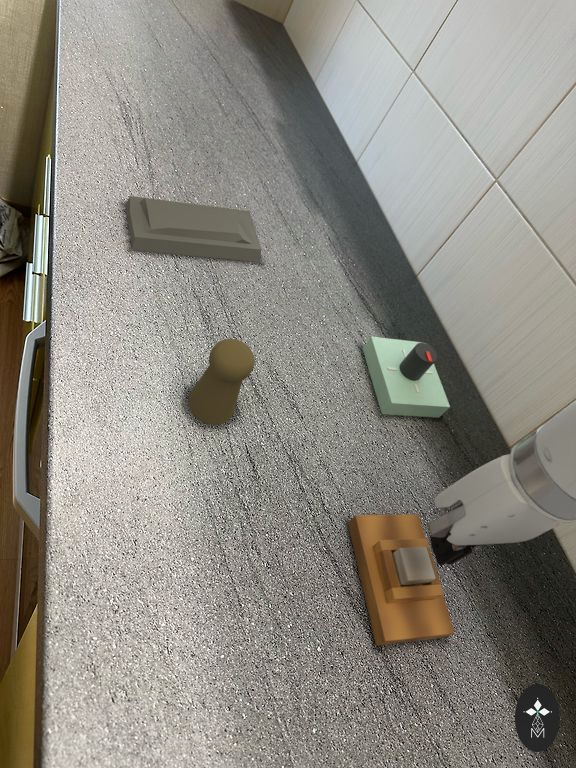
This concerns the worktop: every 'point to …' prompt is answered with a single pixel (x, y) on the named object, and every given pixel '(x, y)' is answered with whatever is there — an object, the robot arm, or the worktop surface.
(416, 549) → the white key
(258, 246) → the grey bevelled block
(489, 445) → the worktop surface
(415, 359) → the volume knob
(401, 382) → the volume panel
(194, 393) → the brown pawn
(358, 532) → the light switch
